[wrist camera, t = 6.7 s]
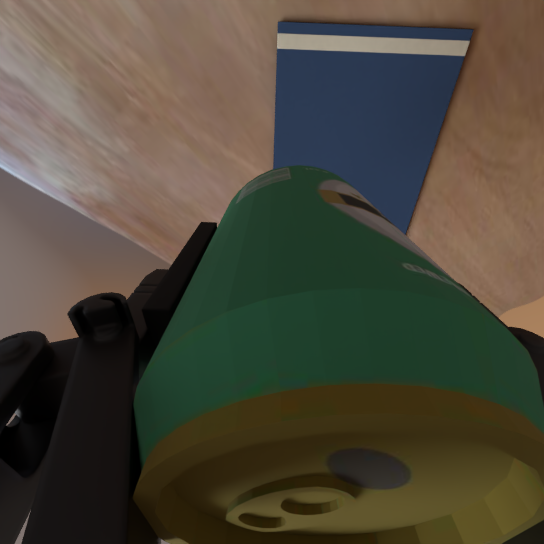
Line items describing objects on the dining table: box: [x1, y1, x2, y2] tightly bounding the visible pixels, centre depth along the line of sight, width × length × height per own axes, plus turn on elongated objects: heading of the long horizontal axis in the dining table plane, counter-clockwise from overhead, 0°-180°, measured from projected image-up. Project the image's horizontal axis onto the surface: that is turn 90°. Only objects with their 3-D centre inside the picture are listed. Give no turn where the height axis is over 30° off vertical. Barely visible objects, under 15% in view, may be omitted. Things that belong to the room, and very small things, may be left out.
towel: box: [273, 22, 473, 234], centre depth 26 cm, size 20×16×1 cm
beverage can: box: [132, 165, 544, 544], centre depth 9 cm, size 8×8×12 cm
